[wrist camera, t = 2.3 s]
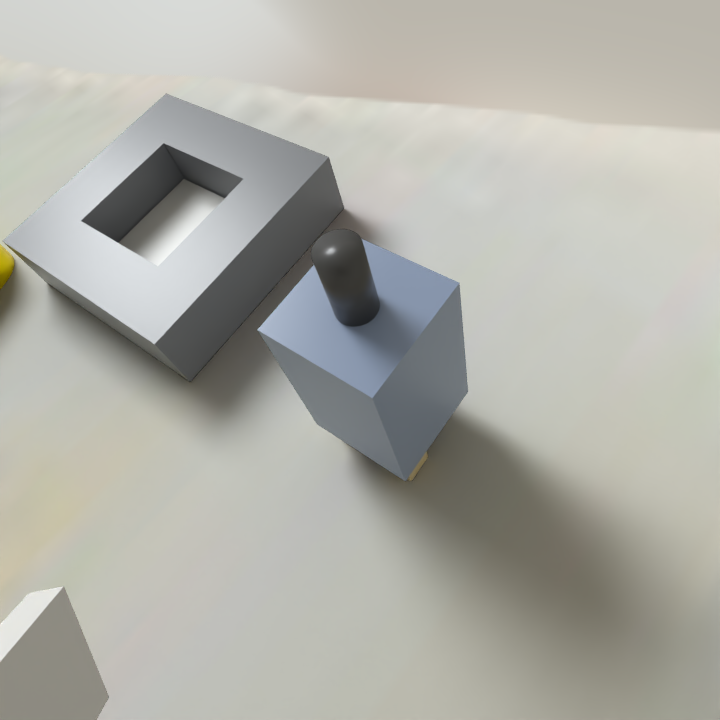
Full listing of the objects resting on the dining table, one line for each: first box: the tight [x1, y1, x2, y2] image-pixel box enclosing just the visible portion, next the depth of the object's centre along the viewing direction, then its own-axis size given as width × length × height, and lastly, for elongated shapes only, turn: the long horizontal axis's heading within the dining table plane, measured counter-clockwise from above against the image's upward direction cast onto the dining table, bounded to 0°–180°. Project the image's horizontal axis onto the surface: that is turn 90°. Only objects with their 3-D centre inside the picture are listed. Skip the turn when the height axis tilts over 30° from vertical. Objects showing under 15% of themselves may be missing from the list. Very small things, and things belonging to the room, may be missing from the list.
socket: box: [3, 94, 344, 382], centre depth 36 cm, size 14×14×4 cm
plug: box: [258, 229, 468, 481], centre depth 23 cm, size 5×5×13 cm
